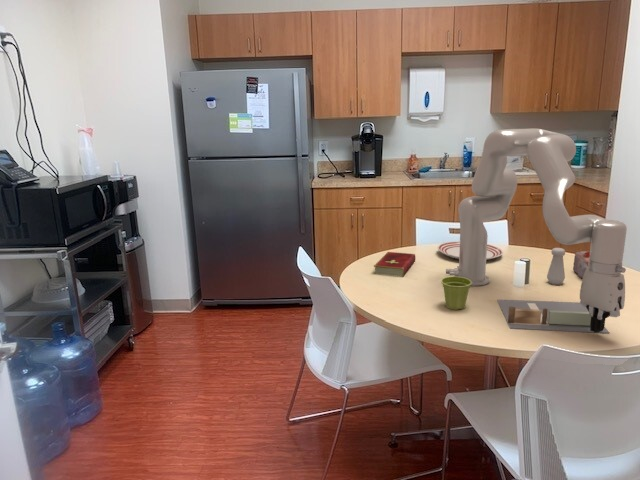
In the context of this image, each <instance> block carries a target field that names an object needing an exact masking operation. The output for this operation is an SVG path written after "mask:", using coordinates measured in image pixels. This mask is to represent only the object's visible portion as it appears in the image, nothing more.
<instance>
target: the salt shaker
mask: <svg viewBox="0 0 640 480" xmlns="http://www.w3.org/2000/svg"><path fill="white" fill-rule="evenodd" d="M550 252H551V255H552V259H551V262H550V264H549V268H548V271H547V274H546V279H547V280H548V283H549V284H551V285H553V286H560V285H562V284H563V283H564V281H565V279H566V275H565V265H564V256H565V254H566V250H565V249H564V248H561V247H554V248H552V249H551V251H550Z"/></svg>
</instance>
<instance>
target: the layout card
mask: <svg viewBox="0 0 640 480" xmlns="http://www.w3.org/2000/svg"><path fill="white" fill-rule="evenodd" d="M496 301H497V303H498V305H499V307H500V309H501V311H502V314H503V316H504V318H505V320H506V322H507V324H508V327H509V329H510V330H512V329H514V330H530V331H531V330H532V331H548V332H550V331H553V332H572V333H591V334H609V333H610V331H609V330H608V329H607V328H606V326H604V329H603V331H600V332H597V333H595V332H594V331H591V330H590V327H591V326H587V325H566V324H549V323H548V316H549V311H572V312H589V311H588V310H587V308H586V307H584V306H583V305H581V304H580V301H579V302H578V301H577V302H575V301H573V302H572V301H553V300H552V301H549V300H547V301H546V300H527V299H523V300H522V299H501V298H500V299H496ZM509 307H515V308H516V309H533V310H541V320H540V324H526V323H509V322H508V315H509ZM544 308H546V309H548V311H547V321H546V324H542V315H543V309H544Z"/></svg>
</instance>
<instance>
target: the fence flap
mask: <svg viewBox="0 0 640 480" xmlns="http://www.w3.org/2000/svg"><path fill="white" fill-rule="evenodd" d="M590 322H591V316H590V315H589V312H572V311H549V316H548V323H549V324H566V325H587V326H590Z"/></svg>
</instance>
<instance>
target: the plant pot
mask: <svg viewBox="0 0 640 480" xmlns="http://www.w3.org/2000/svg"><path fill="white" fill-rule="evenodd" d="M454 276H455V275H452V276H446V277H443V278H442V279H440V282H441V284H442V287H443V293H444V295H443V296H444V301H445V302H444V303H445V306H446V307H447V308H448V309H450V310H454V311H455V310H464V309H465V308H466V304H467V301H468V300H467V299H468V294H469V291H470V288H471V286H470V285H471V284H472V281H471V280H469V279H467V278H464V277H454Z"/></svg>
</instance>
